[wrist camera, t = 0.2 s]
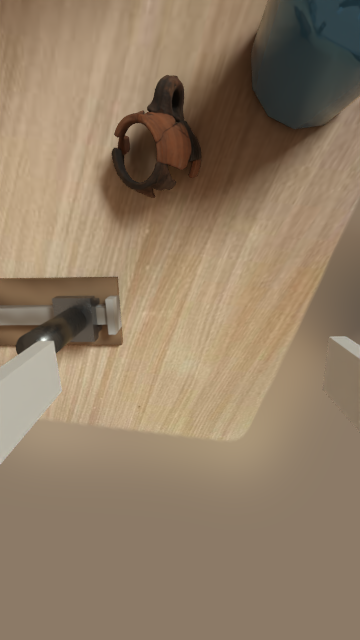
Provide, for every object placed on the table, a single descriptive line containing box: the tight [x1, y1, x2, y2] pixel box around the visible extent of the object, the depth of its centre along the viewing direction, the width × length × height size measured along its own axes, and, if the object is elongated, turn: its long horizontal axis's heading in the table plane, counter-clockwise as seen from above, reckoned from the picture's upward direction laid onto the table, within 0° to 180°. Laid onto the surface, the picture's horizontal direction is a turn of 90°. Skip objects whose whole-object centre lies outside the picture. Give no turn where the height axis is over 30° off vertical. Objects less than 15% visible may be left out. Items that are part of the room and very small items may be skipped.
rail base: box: [0, 277, 123, 345], centre depth 39 cm, size 10×26×7 cm, turn 91°
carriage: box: [16, 295, 102, 354], centre depth 34 cm, size 6×5×14 cm
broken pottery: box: [112, 75, 201, 198], centre depth 33 cm, size 12×10×8 cm
